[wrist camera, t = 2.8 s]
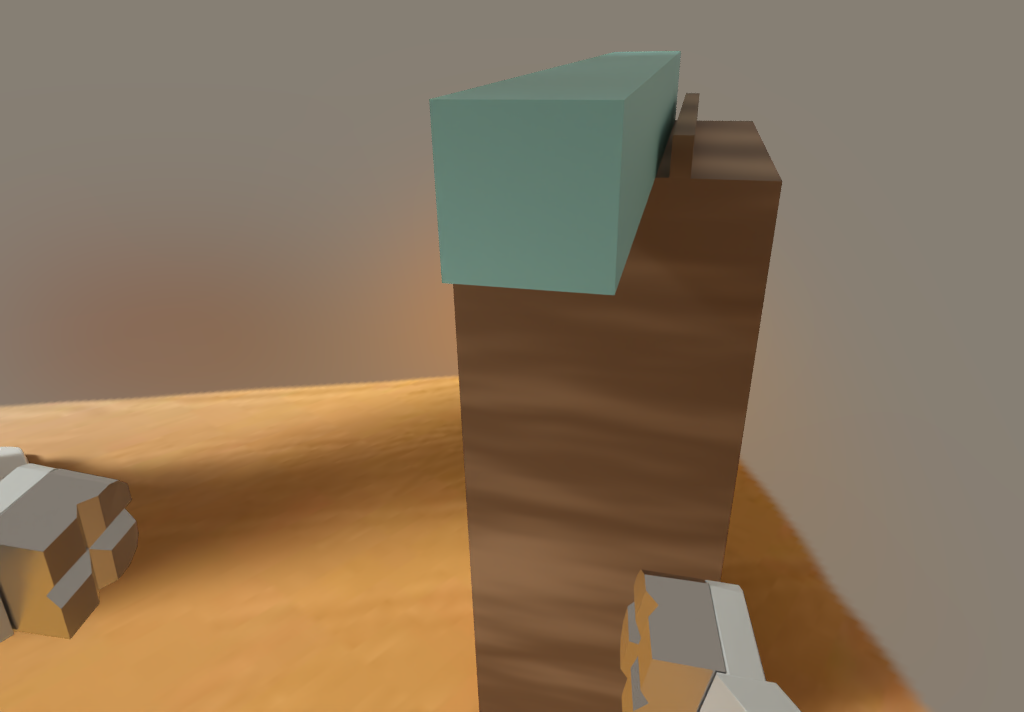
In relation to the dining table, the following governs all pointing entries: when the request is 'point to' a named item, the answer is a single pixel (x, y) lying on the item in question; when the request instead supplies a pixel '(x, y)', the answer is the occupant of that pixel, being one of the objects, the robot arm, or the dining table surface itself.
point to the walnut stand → (612, 424)
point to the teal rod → (551, 171)
